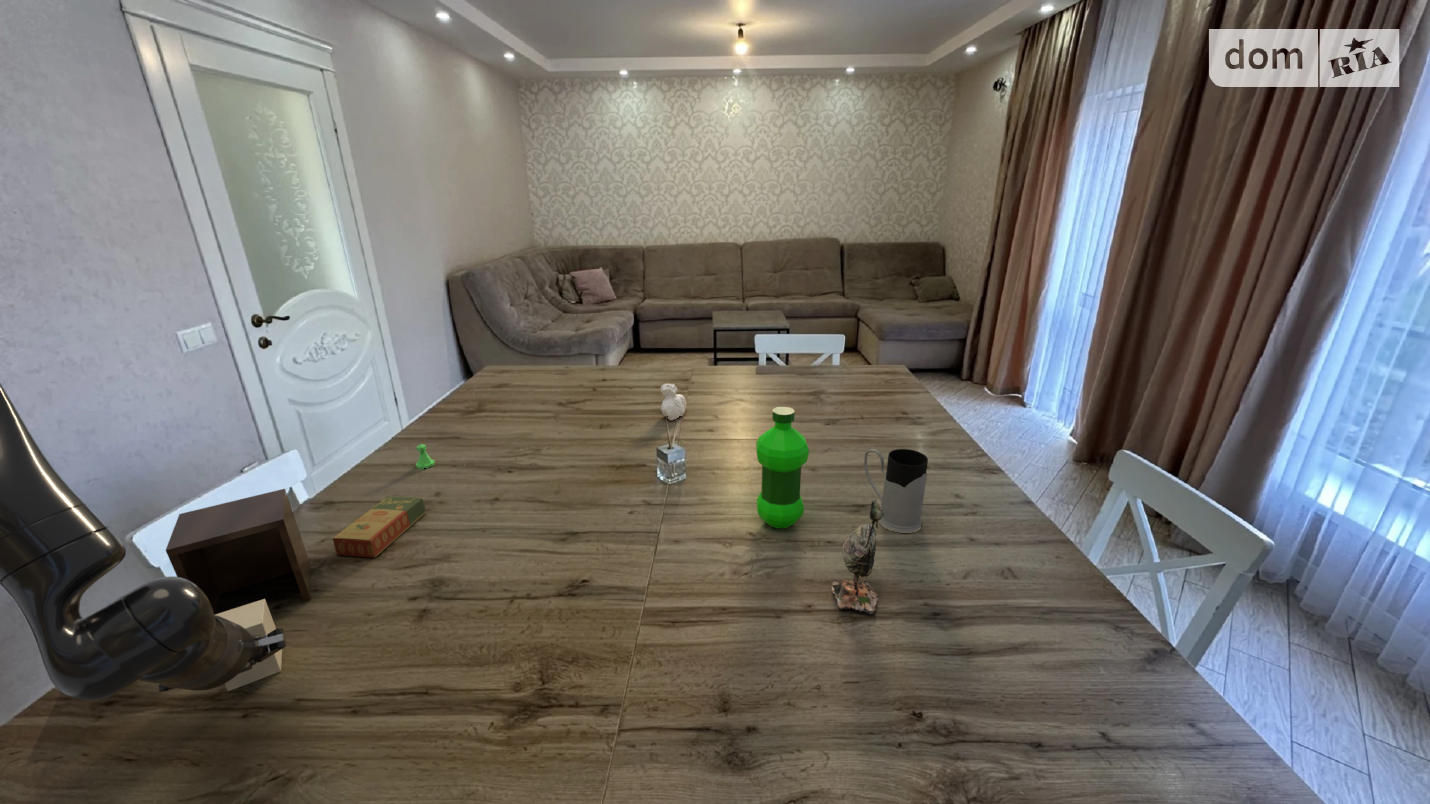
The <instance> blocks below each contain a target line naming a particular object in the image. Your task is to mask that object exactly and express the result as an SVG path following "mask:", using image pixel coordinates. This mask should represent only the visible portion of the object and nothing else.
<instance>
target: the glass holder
mask: <svg viewBox="0 0 1430 804" xmlns="http://www.w3.org/2000/svg"><path fill="white" fill-rule="evenodd" d="M870 452H874V453H876V454H877V456H878V457H879V460H880V471H881V473H882V474H884V481H883V490H882V494H881V492H880V491H879V489H878V487H877V486H876V485H875V483H874V482H873V480H872V478H871V475H870V472H869V466H868V456H869V453H870ZM887 455H888V456H887V463H886V470H885V469H884V466H885V460H884V457H883V454H882V453H881V452H880V451H879V450H878V449H875V448H871V449H868V450H866V452H865V453H864V458H863V466H864V471H865V475H866V478H867V481H868V482H869V484H870V486H871V487H872V489H873V490H874V491H875V493H876V495H877V496H878V497H879V499H880V502H881V504H882V506H883V509H884V516H883V517H882V518H881V520H879V521H881V523H882V524H883V525H885V526H886V527H887V528H890V529H893V530H895V531H897V532H913V531H915V530H917V529H918V528H920V527H921V523H922V520H921V518H922V511H923V505H924V498H925V497H924V496H925V492H926V491H925V490H926V484H927V477H928V473H927V470H928V463H929V458H928V456H927V455H925V454H924V453H922V452H921V451H918V450H914V449H909V448H896V449H892V450H891V451H889V452H888V454H887Z"/></svg>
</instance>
